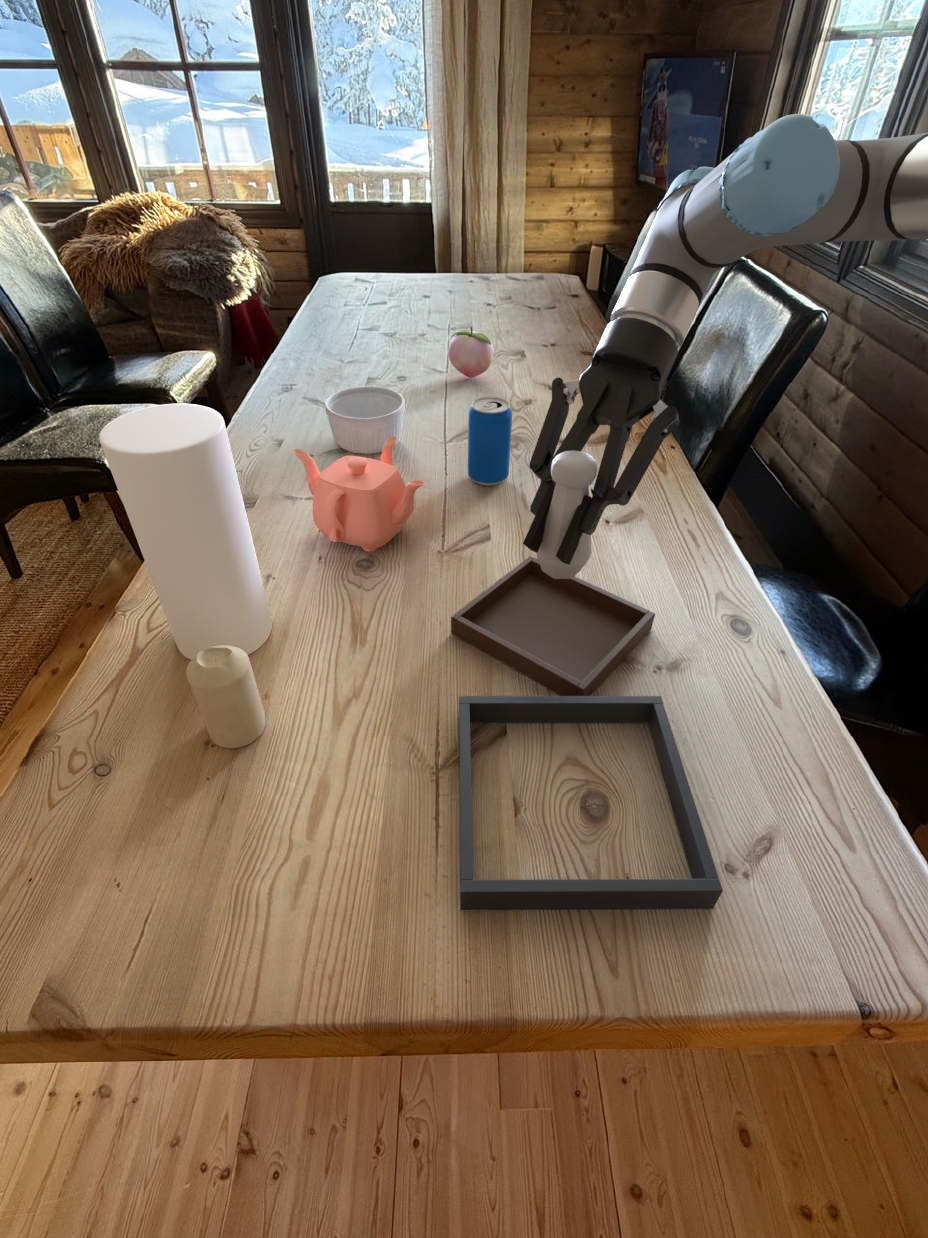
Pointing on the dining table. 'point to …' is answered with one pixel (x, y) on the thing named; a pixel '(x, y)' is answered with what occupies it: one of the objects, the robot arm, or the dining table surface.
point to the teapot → (360, 498)
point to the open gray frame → (587, 891)
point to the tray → (553, 628)
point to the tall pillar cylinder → (190, 524)
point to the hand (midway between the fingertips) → (546, 553)
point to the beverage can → (489, 440)
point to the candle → (227, 695)
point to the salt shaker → (566, 512)
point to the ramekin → (365, 418)
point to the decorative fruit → (470, 352)
